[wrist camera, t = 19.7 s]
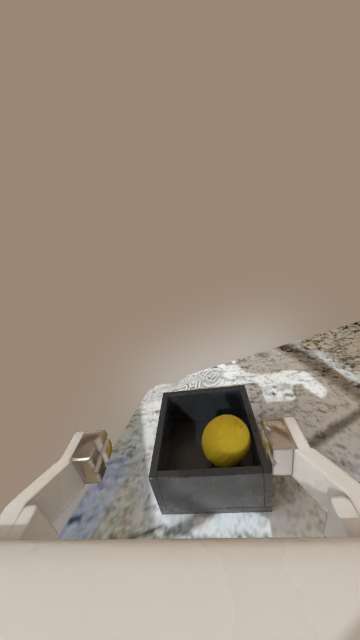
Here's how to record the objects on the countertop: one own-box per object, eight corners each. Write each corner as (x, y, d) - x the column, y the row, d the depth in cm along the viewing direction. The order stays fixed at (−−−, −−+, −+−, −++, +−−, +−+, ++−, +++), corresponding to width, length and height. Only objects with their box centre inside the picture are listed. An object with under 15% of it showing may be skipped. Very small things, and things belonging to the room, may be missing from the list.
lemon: (210, 485, 26) (243, 465, 21) (185, 442, 29) (209, 415, 24) (237, 460, 30) (271, 438, 25) (213, 423, 32) (239, 397, 28)
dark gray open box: (161, 514, 25) (148, 478, 23) (171, 423, 37) (163, 392, 34) (272, 511, 24) (272, 473, 21) (246, 418, 35) (244, 384, 33)
